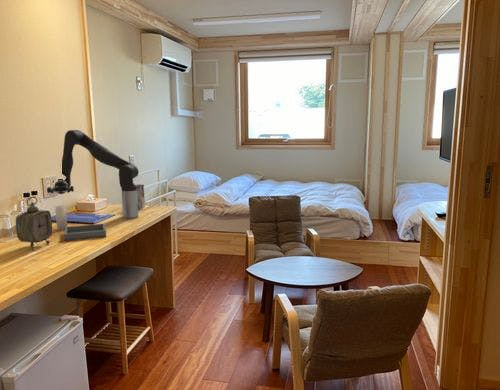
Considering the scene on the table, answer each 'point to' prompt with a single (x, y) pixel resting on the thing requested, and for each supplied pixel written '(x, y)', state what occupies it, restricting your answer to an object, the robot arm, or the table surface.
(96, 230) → the tray
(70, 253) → the table surface
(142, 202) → the coffee box
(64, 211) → the canister
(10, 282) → the table surface
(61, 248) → the table surface
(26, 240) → the tabletop clock
